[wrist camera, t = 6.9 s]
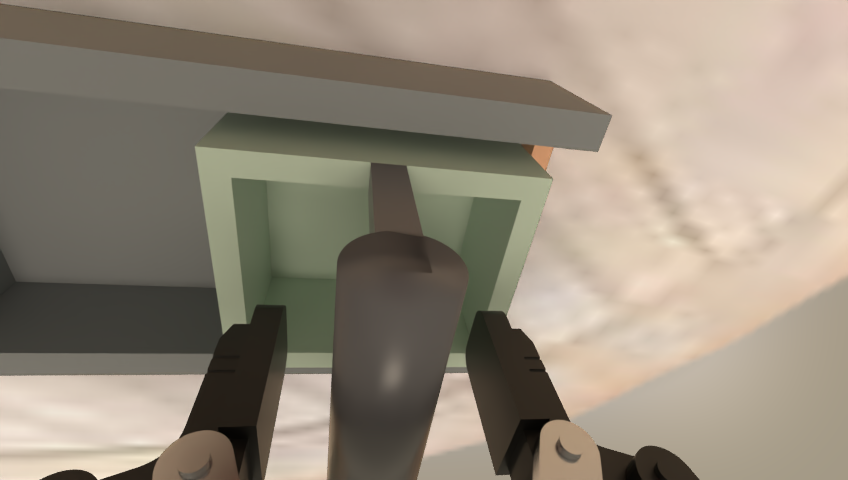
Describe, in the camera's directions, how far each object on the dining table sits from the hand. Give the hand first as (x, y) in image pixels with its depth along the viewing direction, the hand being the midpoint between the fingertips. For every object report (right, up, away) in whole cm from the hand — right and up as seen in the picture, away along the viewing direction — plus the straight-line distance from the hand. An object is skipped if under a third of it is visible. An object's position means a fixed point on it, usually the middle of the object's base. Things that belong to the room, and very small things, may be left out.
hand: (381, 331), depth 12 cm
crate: (-1, +4, +6) cm, 7 cm away
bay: (-6, +5, +6) cm, 10 cm away
